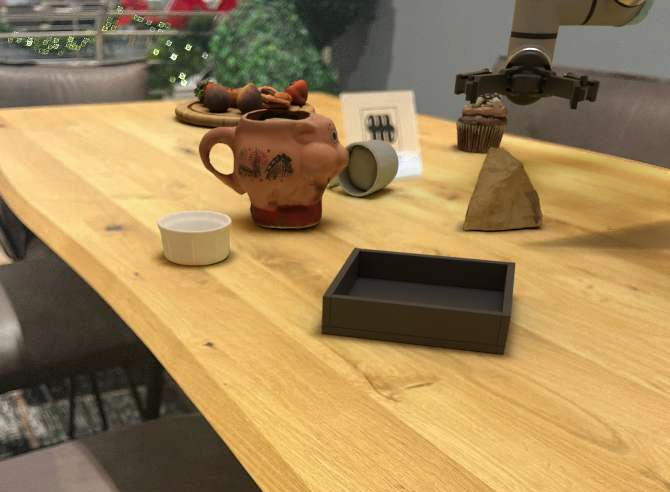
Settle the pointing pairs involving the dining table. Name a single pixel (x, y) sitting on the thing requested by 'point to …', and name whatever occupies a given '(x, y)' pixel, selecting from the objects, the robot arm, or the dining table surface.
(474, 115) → the cupcake
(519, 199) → the rock
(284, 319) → the dining table surface
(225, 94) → the wooden plate
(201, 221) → the ramekin
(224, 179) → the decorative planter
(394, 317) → the tray
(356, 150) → the ceramic mug
